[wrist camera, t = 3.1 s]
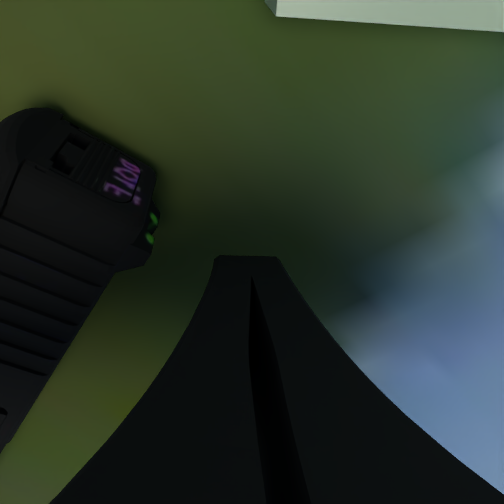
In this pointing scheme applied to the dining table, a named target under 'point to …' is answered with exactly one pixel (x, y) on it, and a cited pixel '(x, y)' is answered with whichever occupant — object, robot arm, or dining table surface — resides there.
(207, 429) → the robot arm
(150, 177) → the handgun
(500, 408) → the dining table surface
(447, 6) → the tray
